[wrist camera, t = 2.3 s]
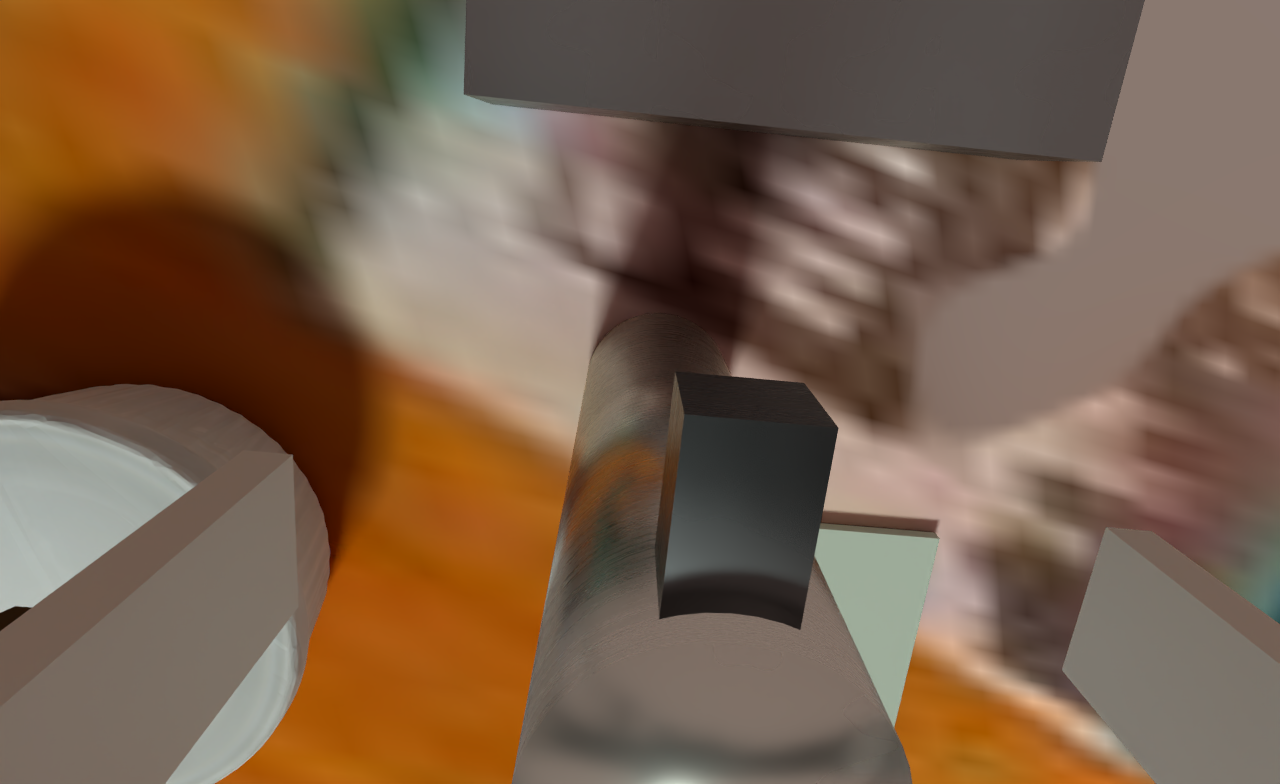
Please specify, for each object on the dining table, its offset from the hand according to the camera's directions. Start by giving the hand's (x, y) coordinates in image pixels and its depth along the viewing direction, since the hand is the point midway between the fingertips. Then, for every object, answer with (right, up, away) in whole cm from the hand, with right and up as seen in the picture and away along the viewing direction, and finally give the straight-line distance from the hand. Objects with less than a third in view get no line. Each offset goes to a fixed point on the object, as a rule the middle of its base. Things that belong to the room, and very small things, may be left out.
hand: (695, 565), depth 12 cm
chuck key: (0, +3, +9) cm, 10 cm away
